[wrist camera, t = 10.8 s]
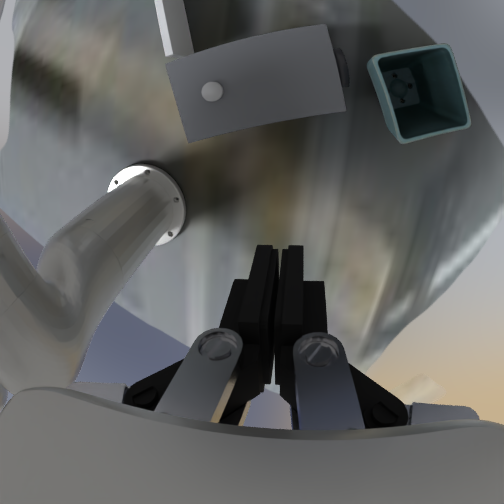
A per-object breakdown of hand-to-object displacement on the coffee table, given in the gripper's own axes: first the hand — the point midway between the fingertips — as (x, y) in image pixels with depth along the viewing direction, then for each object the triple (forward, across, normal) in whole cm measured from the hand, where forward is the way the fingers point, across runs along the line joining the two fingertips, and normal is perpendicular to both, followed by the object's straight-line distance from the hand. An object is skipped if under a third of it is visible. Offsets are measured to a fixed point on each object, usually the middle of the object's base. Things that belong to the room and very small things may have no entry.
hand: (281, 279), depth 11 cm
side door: (+27, +13, -18) cm, 35 cm away
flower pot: (+27, -13, -7) cm, 31 cm away
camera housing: (+27, +3, -8) cm, 28 cm away
